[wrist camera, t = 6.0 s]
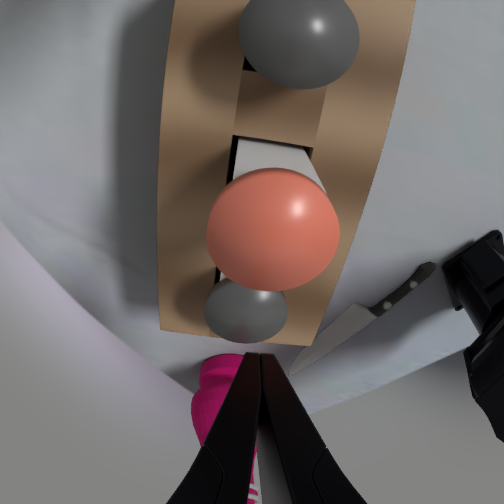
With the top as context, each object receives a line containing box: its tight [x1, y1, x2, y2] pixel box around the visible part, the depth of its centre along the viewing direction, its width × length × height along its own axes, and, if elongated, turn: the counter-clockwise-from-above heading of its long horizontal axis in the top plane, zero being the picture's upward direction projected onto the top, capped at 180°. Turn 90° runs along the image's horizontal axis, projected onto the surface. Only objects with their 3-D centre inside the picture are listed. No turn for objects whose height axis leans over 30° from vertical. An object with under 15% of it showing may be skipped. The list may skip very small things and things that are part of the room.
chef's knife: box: [288, 262, 436, 376], centre depth 27 cm, size 19×1×3 cm
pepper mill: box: [191, 354, 259, 504], centre depth 23 cm, size 7×7×20 cm
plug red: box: [206, 136, 340, 292], centre depth 13 cm, size 4×4×7 cm
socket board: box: [157, 0, 416, 346], centre depth 17 cm, size 22×10×5 cm, turn 171°
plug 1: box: [204, 272, 287, 343], centre depth 19 cm, size 4×4×7 cm
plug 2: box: [239, 0, 360, 89], centre depth 12 cm, size 4×4×7 cm
